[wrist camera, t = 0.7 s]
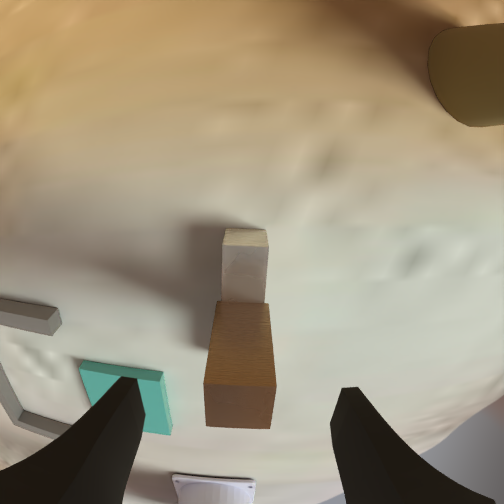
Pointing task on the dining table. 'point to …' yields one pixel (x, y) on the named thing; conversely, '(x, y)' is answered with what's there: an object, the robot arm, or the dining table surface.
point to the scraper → (241, 338)
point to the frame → (15, 317)
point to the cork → (470, 73)
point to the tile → (150, 386)
